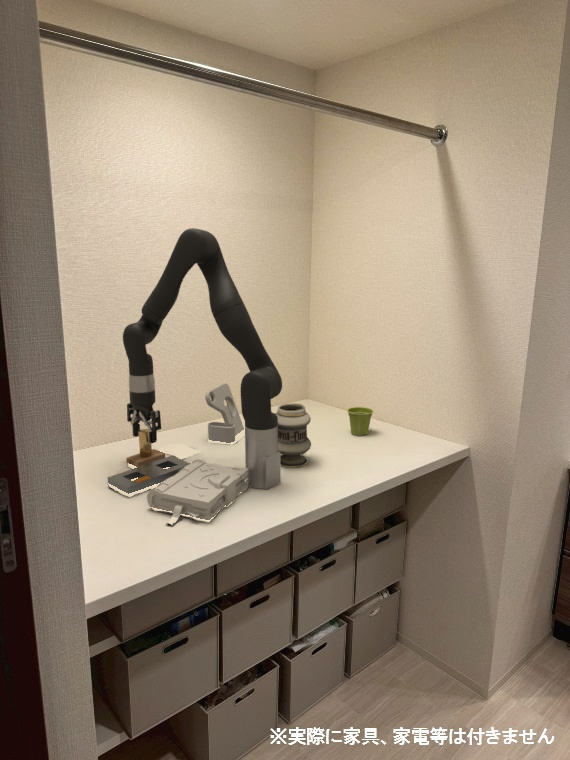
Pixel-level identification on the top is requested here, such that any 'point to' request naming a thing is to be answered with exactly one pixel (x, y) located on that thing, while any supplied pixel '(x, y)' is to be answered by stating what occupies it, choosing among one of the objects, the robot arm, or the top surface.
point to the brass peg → (144, 443)
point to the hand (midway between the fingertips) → (144, 439)
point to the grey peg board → (147, 474)
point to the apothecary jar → (293, 434)
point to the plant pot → (359, 420)
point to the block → (140, 461)
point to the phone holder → (229, 413)
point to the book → (199, 489)
